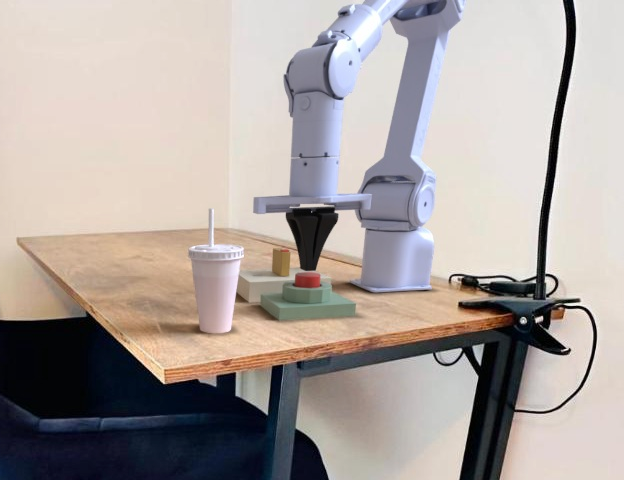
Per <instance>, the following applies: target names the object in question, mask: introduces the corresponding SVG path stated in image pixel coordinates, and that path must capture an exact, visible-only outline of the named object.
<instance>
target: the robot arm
mask: <svg viewBox="0 0 624 480" xmlns="http://www.w3.org/2000/svg"><path fill="white" fill-rule="evenodd" d="M466 3H467V0H364V1H363V2H362V4H359V3H357V4H356V3H355V4H354V3H352V4H348V5H343V6H342V7H341V8H340V9H339V10H338V11H337V16H338V17H336V19H335V20H334V21H333V22H332V23H331V24H330V26H329V27H328V28H327V29H326V30H323V31H321V32H320V33H319V34H318V36H317V40H316V41H315V42H313V44H312V46H311V47H308V48H302V49H300V50H298V51H296V52H295V54H294V55H293V57H291V59H290V60H289V62H288V63H287V66H286V69H285V70H286V71H285V73H283V79H282V80H283V88H284V91H285V94H286V96H287V99H288V113H289V117H290V118H292V126H291V127H292V128H291V145H290V146H291V147H290V169H289V172H290V173H289V187H288V188H289V190H288V194H287V195H273V196H272V195H271V196H270V195H269V196H254V197H253V204H252V205H253V207H252V213H253V214H256V215H266V214H281V213H282V214H283V213H284V214H285V220H286V222H287V224H288V226H289V229H290V231H291V234H292V237H293V240H294V242H295V246H296V250H297V254H298V261H299V267H300V269H302V270H304V271H317V267H318V264H319V261H320V257H321V255H322V252H323V249H324V247H325V244H326V242H327V240H328V238H329V237H330V234H331V233H332V231H333V229H334V228H335V226H336V225H337V224H338V222H339V215H340V214H339V213H338V212H336V211H354V213H355V217H356V218H357V220H358V222H359V223H361V224H360V228H363V229H365V231H364V239H363V240H364V241H363V252H362V263H361V271H360V272H361V273H360V278H356V279H355V278H353V279H349V283H350V284H352V285H354V286H357V287H359V288H361V289H364V290H365V291H368V292H370V293H373V294H374V293H391V292H408V291H409V292H410V291H424V290H433V286H432V285H430V283H431V276H432V275H431V274H432V266H433V261H434V252H435V239H434V236H433V233H432V232H431V231H430V230H429V229H428V228H426V227H423V226H424V225H426V223H427V222H428V221H429V220H430V218H431V217H432V215H433V212H434V209H435V205H436V193H435V192H436V185H437V176H436V174H435V172H434V171H433V169H431V167H430V166H428V165H427V164H425V162H424V161H423V160H422V156H423V152H424V147H425V143H426V139H427V134H428V130H429V124H430V122H431V117H432V112H433V108H434V104H435V99H436V95H437V91H438V86H439V83H440V77H441V73H442V69H443V65H444V61H445V56H446V53H447V47H448V43H449V38H450V35H451V30H452V29H453V28H454V27H455V26H457V24H458V23H460V22H461V21H462V18H463V13H464V10H465V7H466V5H467V4H466ZM388 21H389V22H390V24H391V26H392V28H393V31H394V32H395V34H396V35H398V36H401V37H404V38H406V40H407V47H406V51H405V57H404V62H403V65H402V71H401V76H400V80H399V84H398V89H397V93H396V97H395V103H394V107H393V112H392V115H391V121H390V126H389V131H388V135H387V139H386V143H385V148H384V153H383V156H382V158H380V159H379V160H378V161H377V162H375V163H374V164H373V165H371V166H370V167H369V168H368V169H366V170H365V172H364V176H363V179H362V183H361V185H360V187H359V189H358V191H357V192H356V193H338V183H339V170H340V156H341V155H340V154H341V143H342V131H343V130H342V129H343V115H344V104H345V103H344V102H345V98H346V97H347V96H348V95H349V94H351V93H352V92H353V91H354V89H355V86H356V83H357V79H358V74H359V72H360V71H361V69H362V68H361V67H362V65H363V63H364V62H365V60H366V59H367V58H368V57H369V56H370V55H371V53H372V52H373V51H374V50H376V48H377V46H378V45H379V44H380V42H381V40H382V37H383V28H384V27H383V26H385V24H386V23H387V22H388ZM321 204H322V205H324V206H305V207H301V205H321Z"/></svg>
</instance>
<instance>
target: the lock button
mask: <svg viewBox="0 0 624 480" xmlns="http://www.w3.org/2000/svg"><path fill="white" fill-rule="evenodd" d="M320 276H321V275H320V274H318V273H312V272H301V273H296V274H295V287H300V288H317V287H320Z"/></svg>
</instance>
